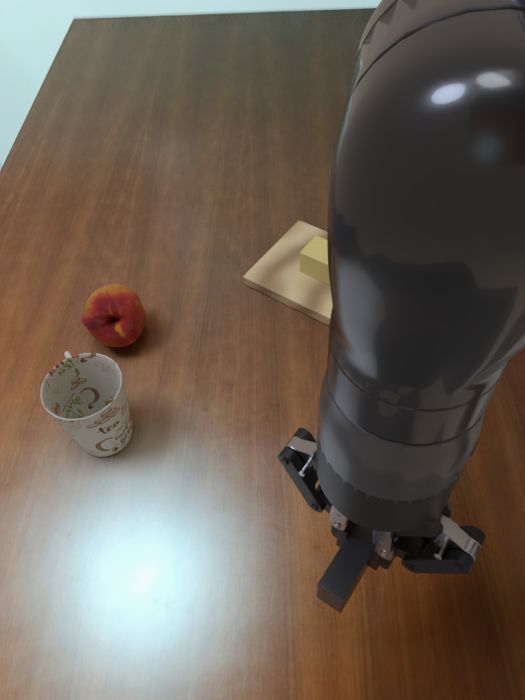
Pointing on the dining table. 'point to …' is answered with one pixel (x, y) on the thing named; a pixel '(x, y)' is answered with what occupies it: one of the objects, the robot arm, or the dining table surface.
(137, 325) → the fruit
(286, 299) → the board
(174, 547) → the dining table surface
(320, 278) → the butter
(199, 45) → the dining table surface
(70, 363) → the mug
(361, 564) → the screwdriver
